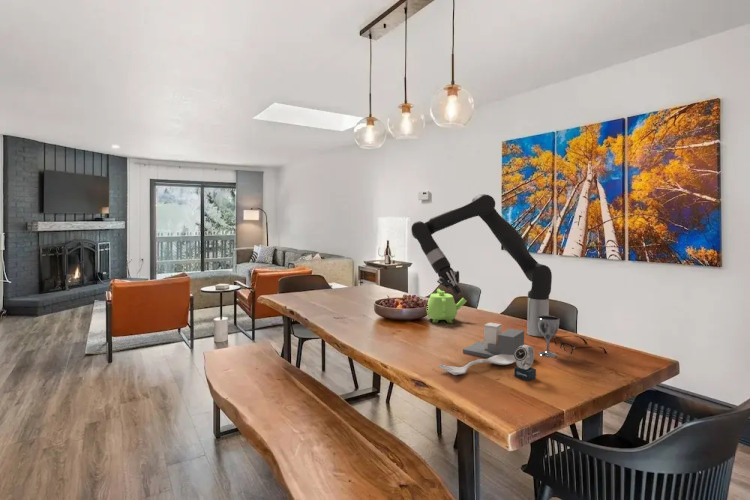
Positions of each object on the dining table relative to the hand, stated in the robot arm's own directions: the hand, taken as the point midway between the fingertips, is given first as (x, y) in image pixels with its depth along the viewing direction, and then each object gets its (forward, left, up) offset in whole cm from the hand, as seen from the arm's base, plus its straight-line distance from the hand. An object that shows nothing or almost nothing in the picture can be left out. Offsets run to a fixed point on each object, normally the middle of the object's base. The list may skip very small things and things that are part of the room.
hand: (458, 293), depth 185 cm
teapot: (+4, -44, -22) cm, 49 cm away
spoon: (-7, +32, -22) cm, 39 cm away
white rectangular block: (-13, +13, -20) cm, 27 cm away
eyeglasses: (-50, +2, -22) cm, 54 cm away
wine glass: (-35, +12, -22) cm, 43 cm away
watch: (-21, +39, -22) cm, 49 cm away
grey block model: (-14, +13, -22) cm, 29 cm away
